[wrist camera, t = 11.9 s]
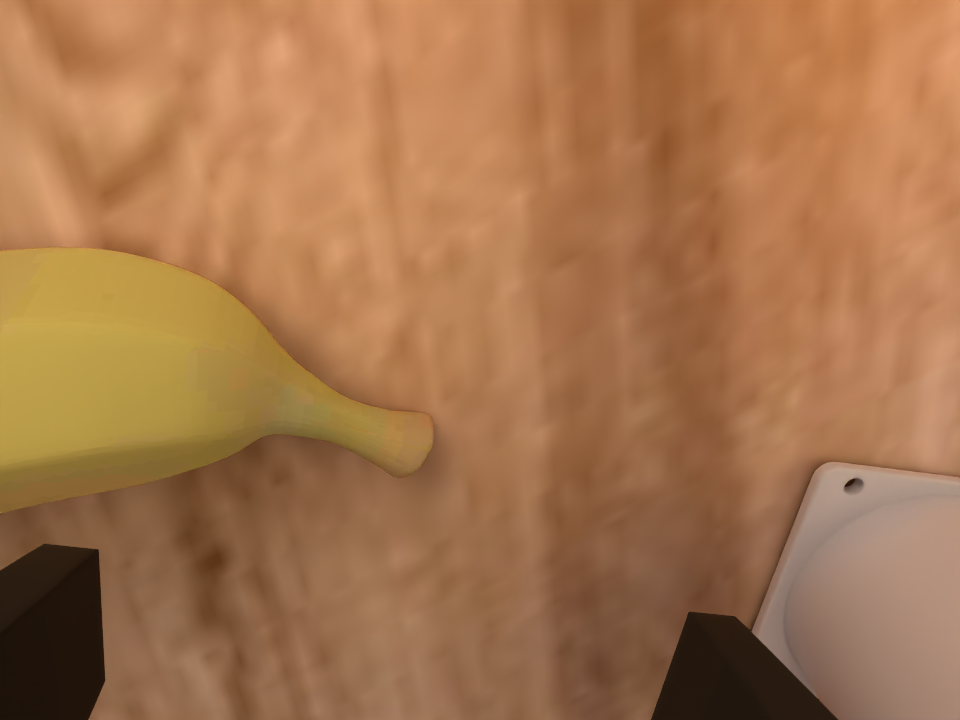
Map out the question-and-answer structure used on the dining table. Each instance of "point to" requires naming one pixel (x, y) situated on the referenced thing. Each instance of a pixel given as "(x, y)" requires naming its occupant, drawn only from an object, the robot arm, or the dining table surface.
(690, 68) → the dining table surface
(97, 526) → the dining table surface
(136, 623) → the dining table surface
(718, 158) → the dining table surface
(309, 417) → the banana
